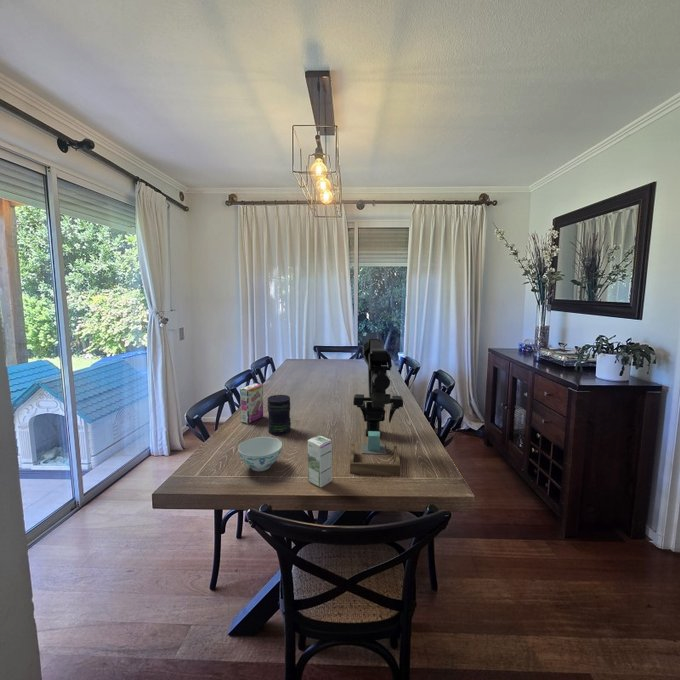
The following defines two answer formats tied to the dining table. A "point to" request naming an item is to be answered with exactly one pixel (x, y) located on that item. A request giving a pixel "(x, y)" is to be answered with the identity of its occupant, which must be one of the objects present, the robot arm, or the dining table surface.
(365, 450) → the grey rubber mat
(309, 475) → the syrup box
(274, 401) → the storage jar
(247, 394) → the candy bar box
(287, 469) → the dining table surface
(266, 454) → the chinaware
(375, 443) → the teal block
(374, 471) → the walnut crate
